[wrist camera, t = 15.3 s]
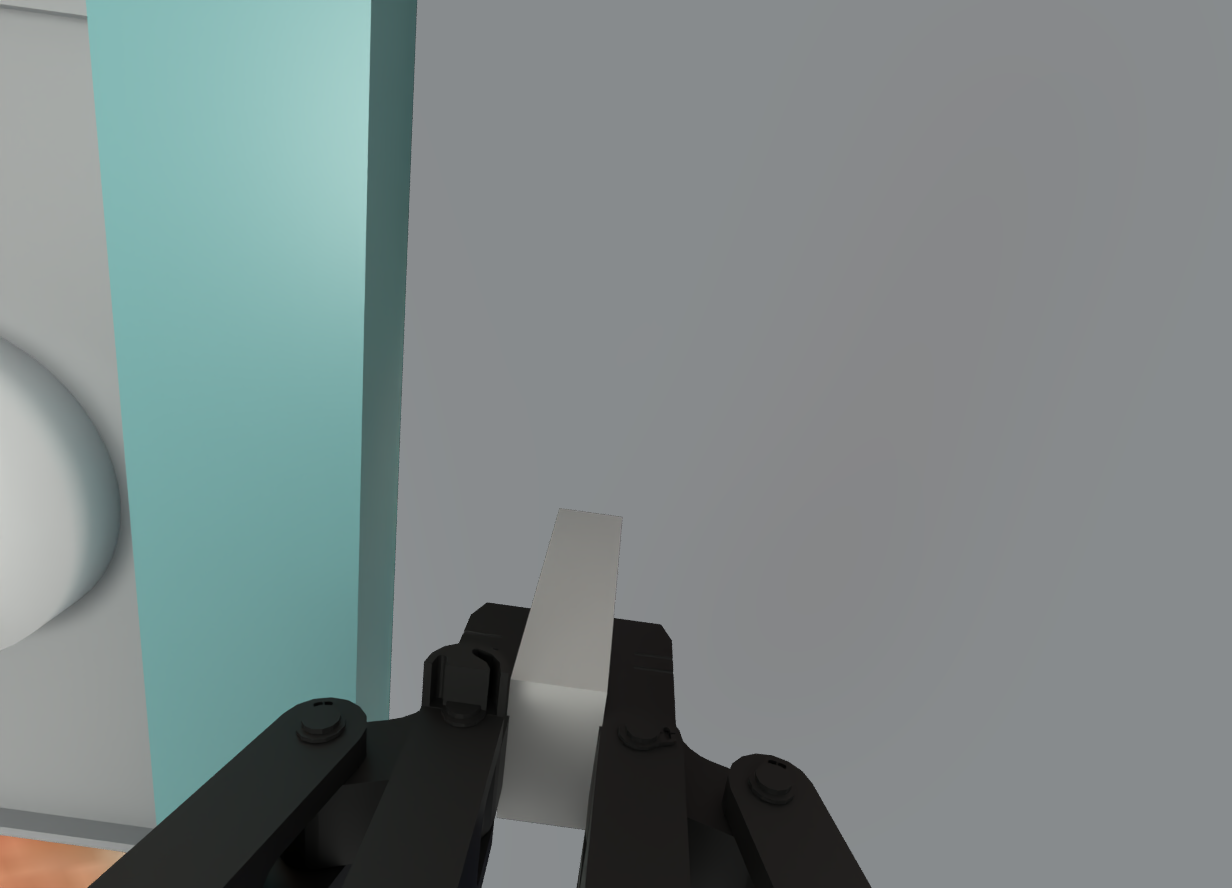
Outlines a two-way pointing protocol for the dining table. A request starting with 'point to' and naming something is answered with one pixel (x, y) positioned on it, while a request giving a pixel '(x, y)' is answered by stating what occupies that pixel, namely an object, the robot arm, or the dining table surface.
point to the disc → (49, 498)
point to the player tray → (206, 378)
